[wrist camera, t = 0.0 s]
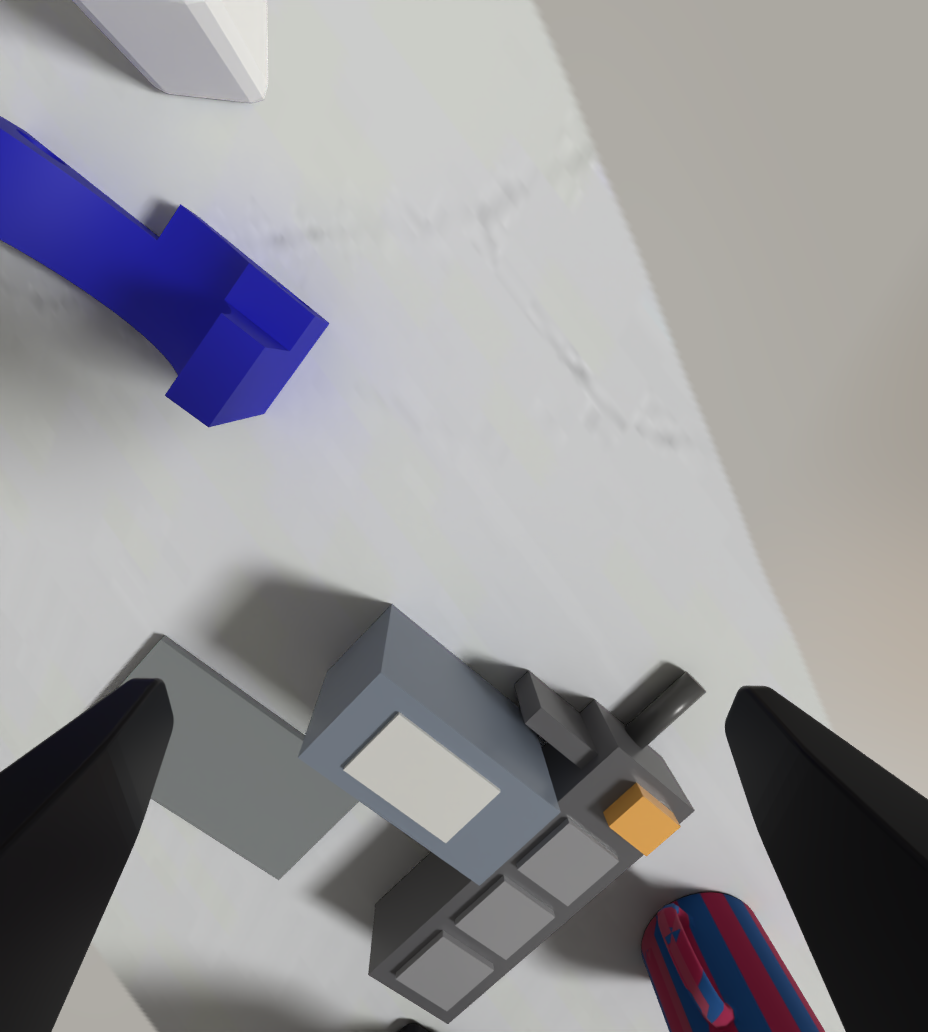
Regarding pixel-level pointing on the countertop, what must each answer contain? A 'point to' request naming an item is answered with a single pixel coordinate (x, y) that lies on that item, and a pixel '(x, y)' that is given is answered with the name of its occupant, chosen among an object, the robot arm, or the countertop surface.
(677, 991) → the mug
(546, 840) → the power strip
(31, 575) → the countertop surface
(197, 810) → the mat
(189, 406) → the cable clip
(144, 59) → the pepper shaker
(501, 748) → the block
